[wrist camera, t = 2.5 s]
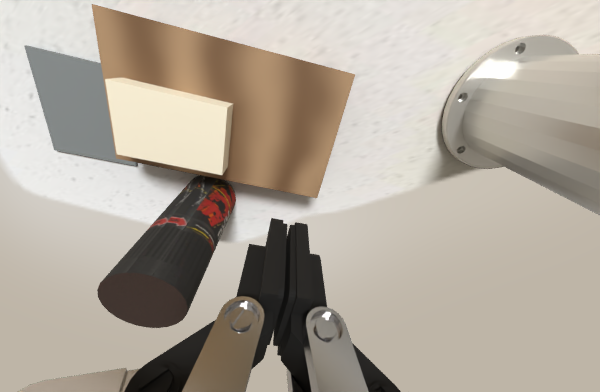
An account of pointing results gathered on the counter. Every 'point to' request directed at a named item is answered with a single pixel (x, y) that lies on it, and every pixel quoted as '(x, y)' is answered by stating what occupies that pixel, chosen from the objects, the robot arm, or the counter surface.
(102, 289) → the deodorant
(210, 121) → the cream foam block
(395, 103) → the counter surface
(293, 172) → the wood grain slab
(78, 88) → the mat
